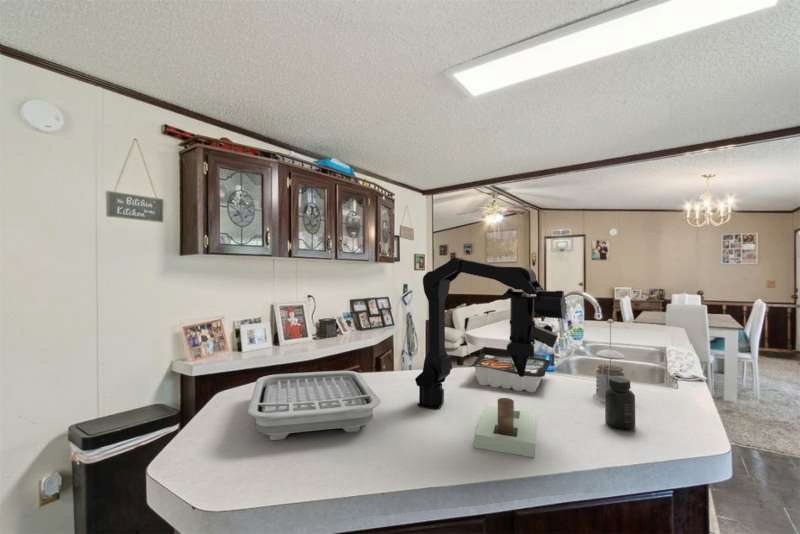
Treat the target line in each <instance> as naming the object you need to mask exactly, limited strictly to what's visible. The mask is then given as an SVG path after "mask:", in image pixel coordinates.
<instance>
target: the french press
mask: <svg viewBox="0 0 800 534" xmlns="http://www.w3.org/2000/svg"><path fill="white" fill-rule="evenodd" d="M606 322H607V324H609V349H602V350H598V351H597V352H596V353H595V355H596V356H597V357H598V358H602V359H606V360H608V359H609V364H606V362H605V361H604V360H603V363H602V364H599V365H597V368H598V369H597V370H595V372H596V373H595V374H596V376H595V378H596V384H595V387H596V388H595V390H596V391H595V393H594V394H593V395H592V398H594V399H595V400H597V401H599V402H603V403H605V391H606V389H608V388H610V386H609V378H624V379H626V378H625V372H623V371H624V368H623V367H621V366H617V365H612V362H611V360H623V359H625V358H626V356H625V355H624V354H623V353H621V352H619V351H617V350H615V349H614V350H613V349H611V348H612V346H611V345H612V324H614V323H615V321H614V319H612V318H609V319H608V320H607V321H606Z"/></svg>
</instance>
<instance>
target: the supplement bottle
mask: <svg viewBox="0 0 800 534" xmlns="http://www.w3.org/2000/svg"><path fill="white" fill-rule="evenodd" d="M609 386H610V388H608V389H606V391H605V402H604V417H605V419H604V421H605V424H606V426H608V427H610V428H611V429H614V430H618V431H626V432H627V431H629V432H630V431H633V430H634V429H635V428H636V395H635V393H634V392H633V391H632V390H631V388H632V387H631V380H630V379H627V378H625V379H624V378H609Z"/></svg>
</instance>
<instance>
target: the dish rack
mask: <svg viewBox="0 0 800 534" xmlns="http://www.w3.org/2000/svg"><path fill="white" fill-rule="evenodd" d="M255 381H256V382H255V385H254V389H253V393H252V397H251V401H250V403H249V404H248V409H247V412H246V413H247V415H249V416H250V417H251V418H253V419H254V418H255V430H256V431H257V432H259V433H262V434H263V435H264V434H265V435H268V436H269V440H270V441H279V440H285V439H286V438H287V436H289V434H294V433H302V432H313V431H322V430H333V429H334V430H335V429H343V430H344V431H345V432H346V433H350V432H351V433H354V432H358V431H360V427H362V426H364V425H366V424H369V423H370V422H371V421H372V420H373V417H374V416H373V410H374V409H375V408H376V407H378V406H379V405H380V404H381V399H380V398H379V397H378V395H377V394H376V393H375V392H374V391H373V390H372V388H371V387H370V385H369V384H368V383H367V382H366V380H365V379H364V377H363V376H362V375H361V373H359V372H357V371H354V370H353V371H352V370H329V371H327V370H326V371H312V372H311V371H310V372H292V373H278V374H277V373H276V374H275V373H274V374H271V375H265V376H261V377H259V378H257V379H256V380H255Z"/></svg>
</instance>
